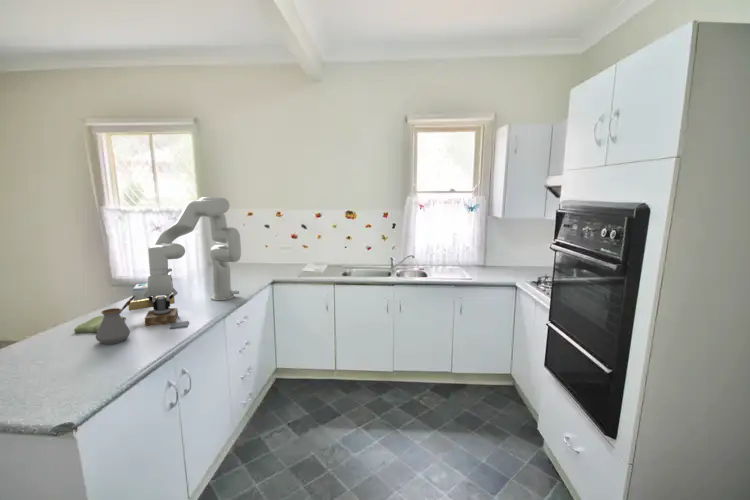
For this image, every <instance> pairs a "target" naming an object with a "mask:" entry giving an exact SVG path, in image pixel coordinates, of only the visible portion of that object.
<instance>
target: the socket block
mask: <svg viewBox="0 0 750 500" xmlns="http://www.w3.org/2000/svg"><path fill="white" fill-rule="evenodd" d="M152 308H153V307H152ZM169 308H170V312H168V313H167V314H161V315H157V314H154V310H155V308H153V309H150V310H148V311H147V313H146V315H145V317H144V323H145V325H144V326H145V327H154V326H163V325H171V323H172V322H177V319H178V317H179V315H178V312H179V311H178V307H173V308H172V307H169Z"/></svg>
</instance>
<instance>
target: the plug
mask: <svg viewBox="0 0 750 500" xmlns="http://www.w3.org/2000/svg"><path fill="white" fill-rule="evenodd" d="M156 297H157V298H156V301H157V310H154V314H157V315H161V314H167V313H168V312H170V308H171V307H169V308H168V309H166V297H165V295H161V296H156Z"/></svg>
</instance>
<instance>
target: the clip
mask: <svg viewBox="0 0 750 500" xmlns="http://www.w3.org/2000/svg"><path fill="white" fill-rule="evenodd" d="M170 295H171V294H170ZM164 296H165V295H164ZM157 297H158V296H156V298H157ZM165 297H166V296H165ZM166 300H167V299H166ZM175 301H176V300H175V296H174V297H173V298H172V299H170V305H172V304H175ZM127 307H128V311H129V312H131V311H136V310H137V311H138V310H142V309H149V308H153V302H152V301H151V300H149V299H144V300H137V301H134V300H132V301H131V302H130V304H129V305H128V306H127Z"/></svg>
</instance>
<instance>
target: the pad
mask: <svg viewBox="0 0 750 500" xmlns="http://www.w3.org/2000/svg"><path fill="white" fill-rule="evenodd" d="M188 325H189V320H183V321H176V322H172V323H171V324H170V326H169V330H173V329H182V328H187V327H188Z"/></svg>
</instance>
